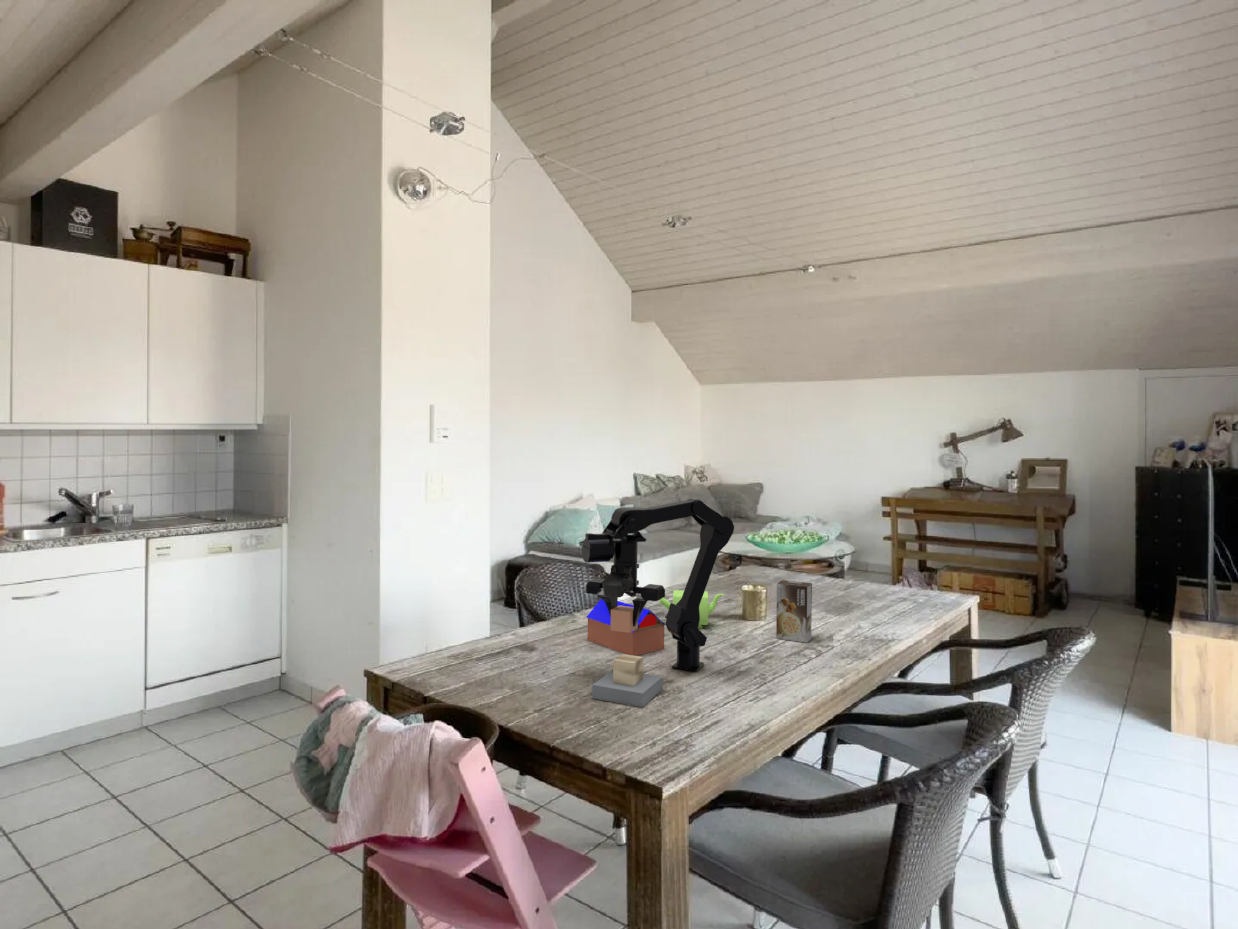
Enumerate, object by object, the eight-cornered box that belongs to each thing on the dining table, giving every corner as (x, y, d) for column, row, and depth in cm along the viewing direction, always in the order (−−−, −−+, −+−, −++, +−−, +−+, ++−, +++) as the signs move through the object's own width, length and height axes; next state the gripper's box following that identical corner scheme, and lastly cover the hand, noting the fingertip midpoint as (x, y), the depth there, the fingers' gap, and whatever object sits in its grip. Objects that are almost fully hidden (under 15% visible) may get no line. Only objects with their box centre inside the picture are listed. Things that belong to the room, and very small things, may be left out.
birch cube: (622, 675, 165) (622, 653, 165) (642, 678, 163) (642, 657, 163) (613, 682, 161) (613, 660, 160) (633, 685, 159) (634, 663, 158)
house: (632, 657, 189) (633, 613, 189) (585, 640, 204) (586, 599, 204) (665, 649, 197) (666, 607, 196) (618, 633, 212) (618, 593, 212)
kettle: (724, 626, 221) (725, 589, 220) (692, 634, 211) (693, 596, 211) (688, 616, 232) (689, 581, 231) (656, 623, 223) (657, 587, 222)
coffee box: (812, 638, 209) (813, 582, 208) (807, 643, 203) (808, 586, 203) (780, 633, 213) (782, 579, 213) (774, 638, 208) (776, 583, 207)
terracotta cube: (619, 625, 178) (619, 605, 178) (637, 628, 176) (638, 607, 176) (610, 630, 173) (610, 609, 173) (629, 633, 171) (630, 612, 171)
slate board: (614, 681, 170) (614, 669, 170) (662, 689, 165) (662, 676, 165) (591, 698, 159) (592, 684, 159) (642, 707, 154) (642, 693, 154)
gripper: (575, 562, 170) (574, 628, 171) (648, 569, 163) (647, 638, 163) (596, 555, 180) (595, 617, 181) (666, 561, 173) (665, 626, 173)
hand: (624, 624), depth 174 cm, fingers closed on terracotta cube, 5 cm apart
